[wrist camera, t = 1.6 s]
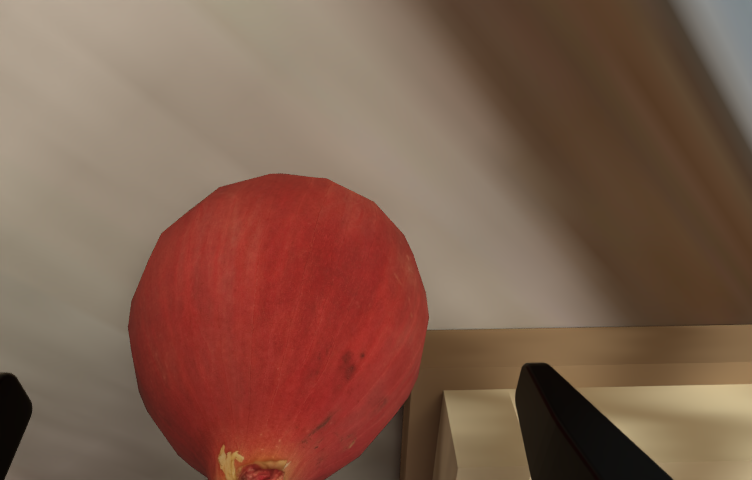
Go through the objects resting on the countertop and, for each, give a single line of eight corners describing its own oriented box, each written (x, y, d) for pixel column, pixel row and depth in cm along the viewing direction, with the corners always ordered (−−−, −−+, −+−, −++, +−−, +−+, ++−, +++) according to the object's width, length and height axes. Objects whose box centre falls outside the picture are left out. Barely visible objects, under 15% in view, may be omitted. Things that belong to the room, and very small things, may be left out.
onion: (429, 281, 14) (493, 595, 7) (251, 323, 15) (158, 645, 8) (378, 95, 11) (409, 335, 4) (157, 158, 12) (-125, 452, 5)
